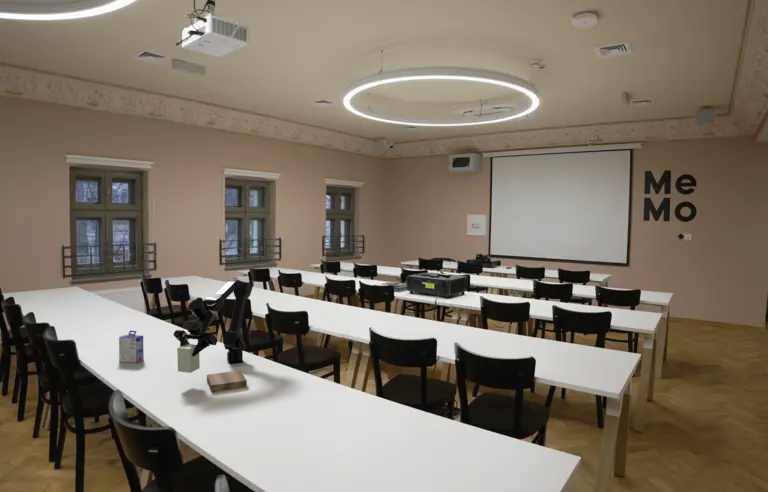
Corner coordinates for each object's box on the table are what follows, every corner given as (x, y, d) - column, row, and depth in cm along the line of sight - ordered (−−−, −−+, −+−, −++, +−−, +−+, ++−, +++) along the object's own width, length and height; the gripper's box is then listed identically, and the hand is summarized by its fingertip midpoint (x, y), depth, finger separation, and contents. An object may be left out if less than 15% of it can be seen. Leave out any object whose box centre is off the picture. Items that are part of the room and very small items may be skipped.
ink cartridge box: (144, 359, 234) (143, 330, 233) (136, 363, 229) (135, 333, 228) (127, 358, 236) (126, 329, 235) (118, 361, 231) (117, 332, 230)
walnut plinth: (240, 376, 212) (240, 370, 212) (246, 387, 200) (246, 380, 200) (206, 381, 206) (206, 374, 206) (211, 392, 194) (211, 385, 193)
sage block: (187, 366, 204) (187, 343, 204) (199, 368, 203) (199, 345, 202) (177, 371, 199) (177, 347, 198) (190, 372, 197) (189, 349, 196)
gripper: (175, 311, 205) (157, 343, 196) (212, 314, 200) (196, 347, 190) (188, 325, 213) (171, 356, 204) (224, 328, 208) (208, 361, 198)
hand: (186, 355), depth 199 cm, fingers closed on sage block, 6 cm apart
